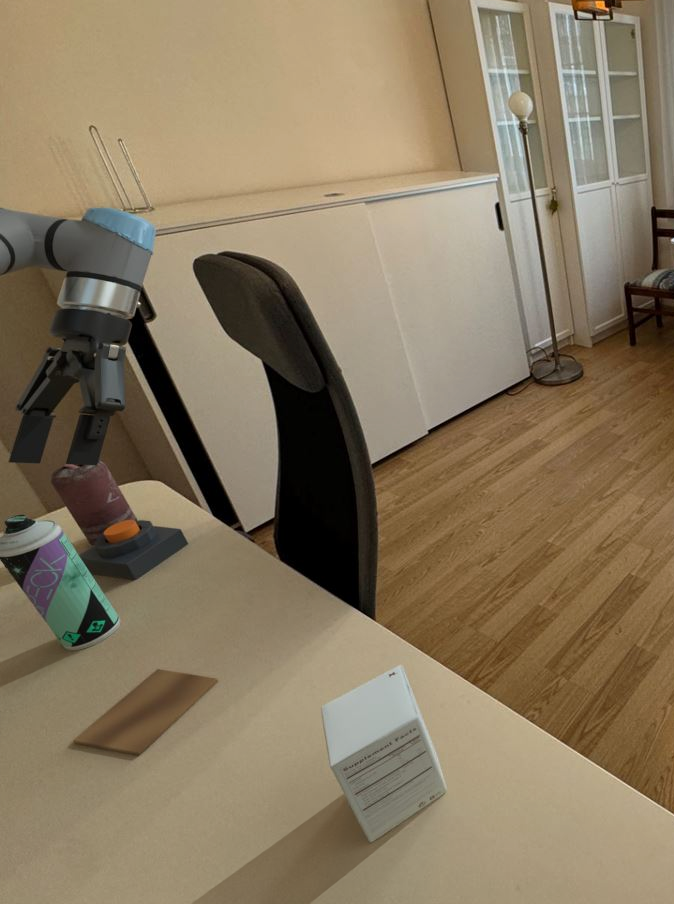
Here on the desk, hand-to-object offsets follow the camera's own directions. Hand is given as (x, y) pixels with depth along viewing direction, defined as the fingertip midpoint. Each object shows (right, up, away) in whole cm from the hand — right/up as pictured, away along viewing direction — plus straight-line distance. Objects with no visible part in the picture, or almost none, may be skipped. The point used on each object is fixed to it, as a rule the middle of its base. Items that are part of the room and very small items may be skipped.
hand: (52, 464), depth 75 cm
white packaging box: (+57, -31, -17) cm, 67 cm away
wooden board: (+22, -28, -9) cm, 37 cm away
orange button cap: (-4, -14, +13) cm, 19 cm away
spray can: (+4, -24, +2) cm, 24 cm away
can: (-13, -16, +20) cm, 29 cm away
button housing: (-4, -18, +15) cm, 24 cm away
